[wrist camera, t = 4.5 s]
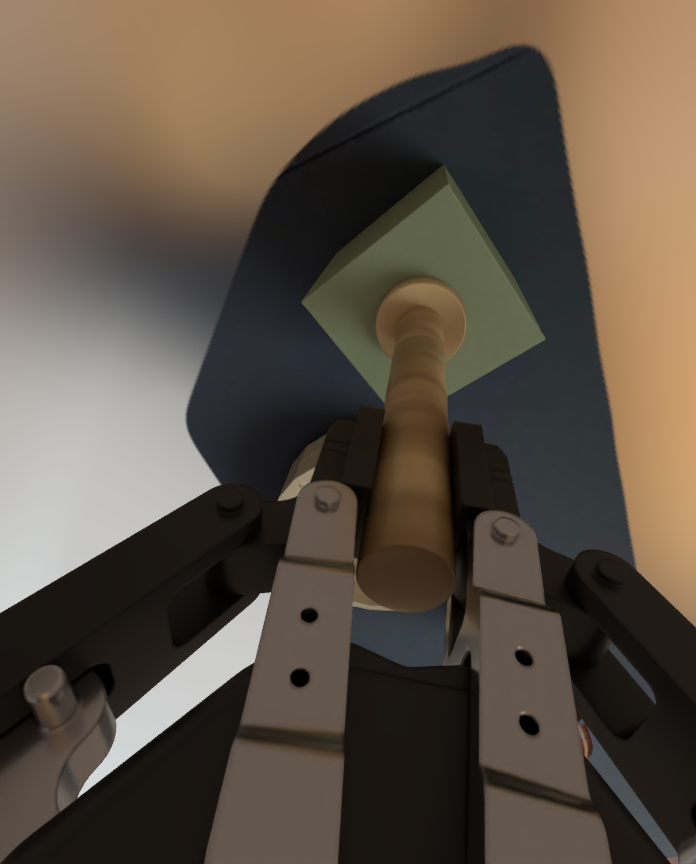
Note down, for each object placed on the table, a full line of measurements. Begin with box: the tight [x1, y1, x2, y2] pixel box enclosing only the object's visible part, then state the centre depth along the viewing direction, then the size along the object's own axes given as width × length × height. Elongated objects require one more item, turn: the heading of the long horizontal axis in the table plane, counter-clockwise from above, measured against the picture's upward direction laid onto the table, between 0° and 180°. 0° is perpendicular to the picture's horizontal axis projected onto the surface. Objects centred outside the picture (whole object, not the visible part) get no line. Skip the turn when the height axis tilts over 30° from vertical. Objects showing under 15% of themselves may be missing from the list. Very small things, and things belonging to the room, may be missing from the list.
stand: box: [301, 165, 545, 403], centre depth 26 cm, size 8×8×10 cm
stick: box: [356, 277, 467, 612], centre depth 16 cm, size 4×4×15 cm
